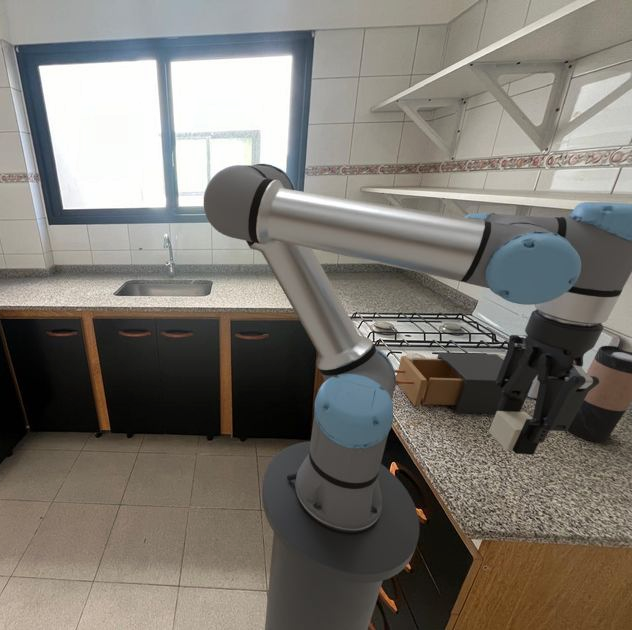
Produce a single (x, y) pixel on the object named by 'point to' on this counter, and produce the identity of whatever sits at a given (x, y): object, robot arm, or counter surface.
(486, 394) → the cabinet
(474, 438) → the counter surface
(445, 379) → the drawer
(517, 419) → the block
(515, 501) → the counter surface
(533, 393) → the jar
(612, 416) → the travel mug
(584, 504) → the counter surface
